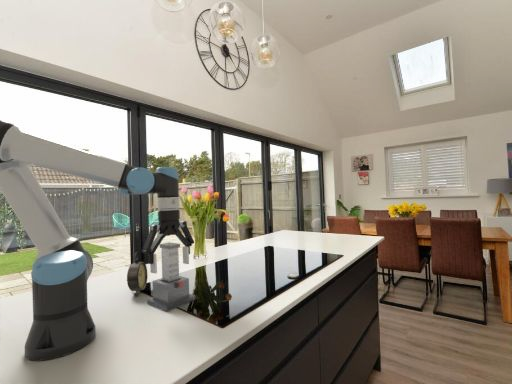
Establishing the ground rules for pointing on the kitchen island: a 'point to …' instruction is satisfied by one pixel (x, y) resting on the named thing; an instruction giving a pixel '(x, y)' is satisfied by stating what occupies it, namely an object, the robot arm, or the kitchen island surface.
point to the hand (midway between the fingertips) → (170, 268)
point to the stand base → (170, 294)
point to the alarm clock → (137, 276)
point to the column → (170, 262)
